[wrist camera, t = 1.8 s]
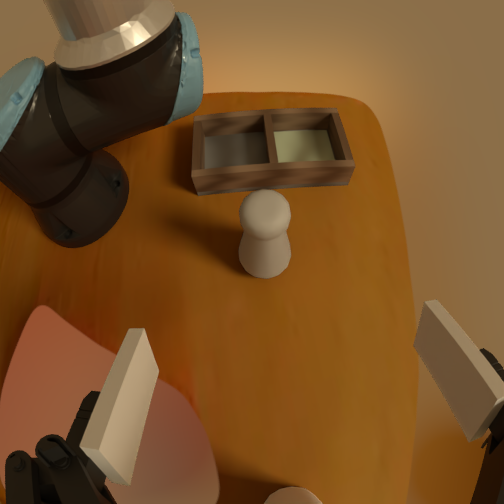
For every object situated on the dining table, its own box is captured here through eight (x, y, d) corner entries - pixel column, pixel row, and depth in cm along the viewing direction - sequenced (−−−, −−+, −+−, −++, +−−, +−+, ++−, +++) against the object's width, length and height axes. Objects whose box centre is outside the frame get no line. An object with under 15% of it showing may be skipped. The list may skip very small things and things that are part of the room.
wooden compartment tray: (198, 195, 41) (191, 177, 37) (199, 136, 45) (194, 116, 40) (347, 185, 41) (355, 166, 37) (331, 127, 44) (336, 107, 40)
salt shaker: (238, 239, 38) (227, 180, 26) (285, 234, 38) (294, 173, 26) (242, 286, 36) (231, 243, 24) (292, 281, 36) (306, 236, 24)
